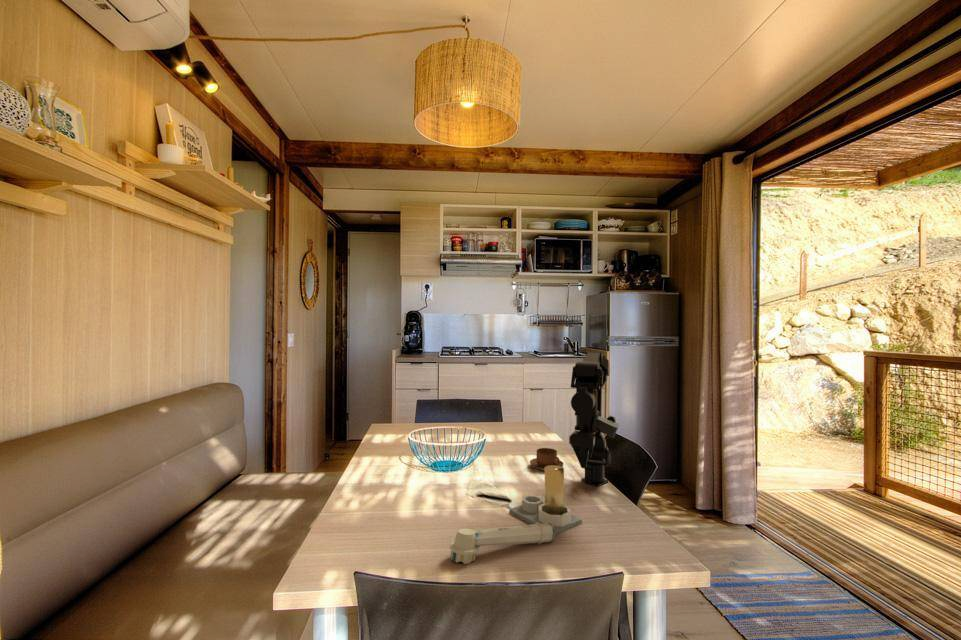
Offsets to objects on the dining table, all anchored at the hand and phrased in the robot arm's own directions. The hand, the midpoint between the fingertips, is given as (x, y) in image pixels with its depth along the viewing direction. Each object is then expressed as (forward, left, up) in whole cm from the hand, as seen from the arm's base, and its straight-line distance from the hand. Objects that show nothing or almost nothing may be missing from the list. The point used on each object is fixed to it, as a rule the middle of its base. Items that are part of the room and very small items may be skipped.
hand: (586, 463), depth 120 cm
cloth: (+14, -26, -14) cm, 33 cm away
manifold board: (+13, -4, -13) cm, 19 cm away
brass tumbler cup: (+13, 0, -12) cm, 18 cm away
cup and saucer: (-18, -31, -13) cm, 38 cm away
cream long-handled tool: (+32, +2, -14) cm, 35 cm away
